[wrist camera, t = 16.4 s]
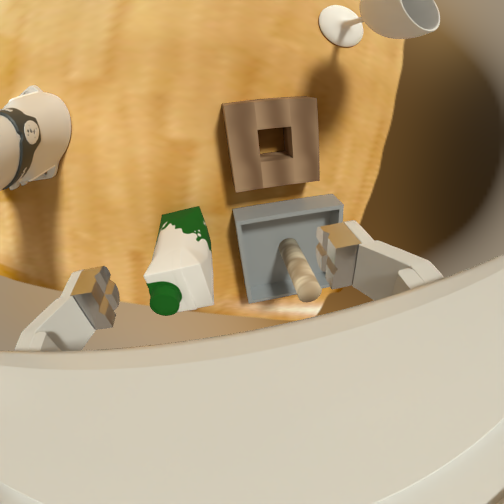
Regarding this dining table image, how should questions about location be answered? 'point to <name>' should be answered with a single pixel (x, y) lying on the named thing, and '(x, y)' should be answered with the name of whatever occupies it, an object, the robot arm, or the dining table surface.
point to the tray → (272, 233)
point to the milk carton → (181, 264)
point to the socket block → (275, 163)
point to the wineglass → (379, 20)
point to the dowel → (299, 270)
